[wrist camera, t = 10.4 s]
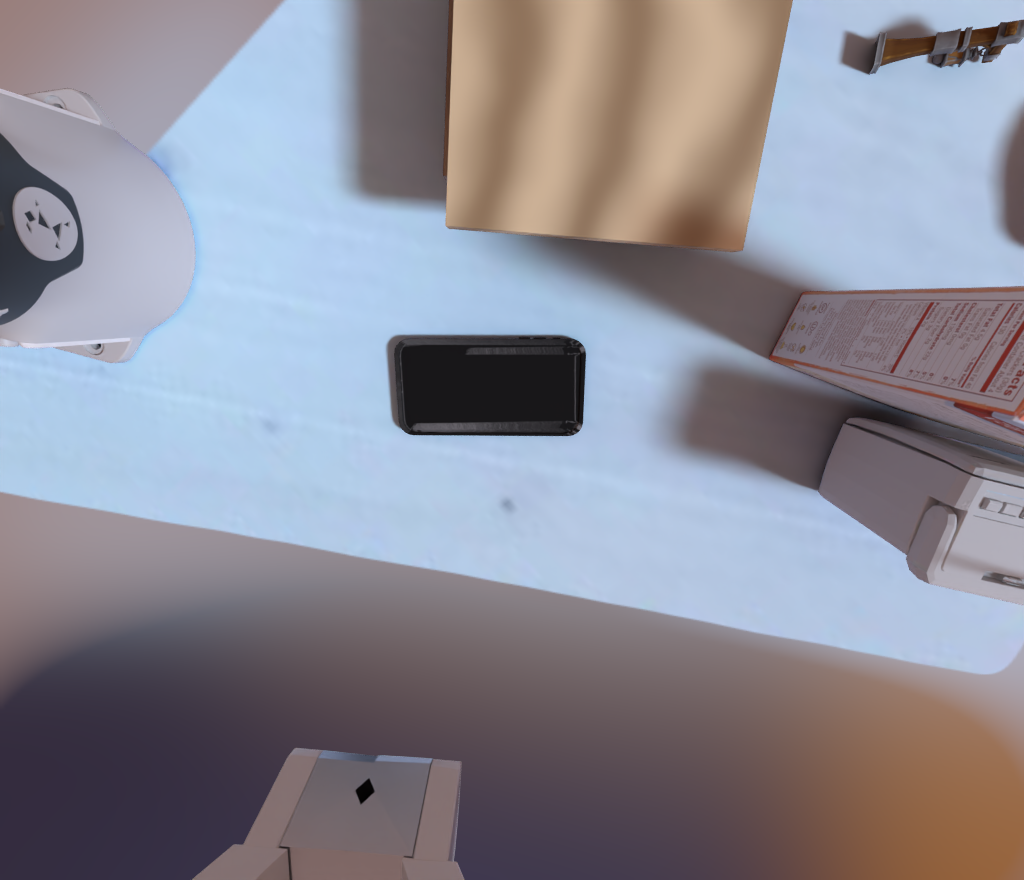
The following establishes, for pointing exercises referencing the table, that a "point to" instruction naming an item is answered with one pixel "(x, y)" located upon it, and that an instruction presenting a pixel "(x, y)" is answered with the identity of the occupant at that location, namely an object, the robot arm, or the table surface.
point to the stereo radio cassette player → (935, 504)
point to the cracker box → (919, 352)
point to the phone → (490, 386)
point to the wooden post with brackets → (950, 45)
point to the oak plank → (611, 117)
